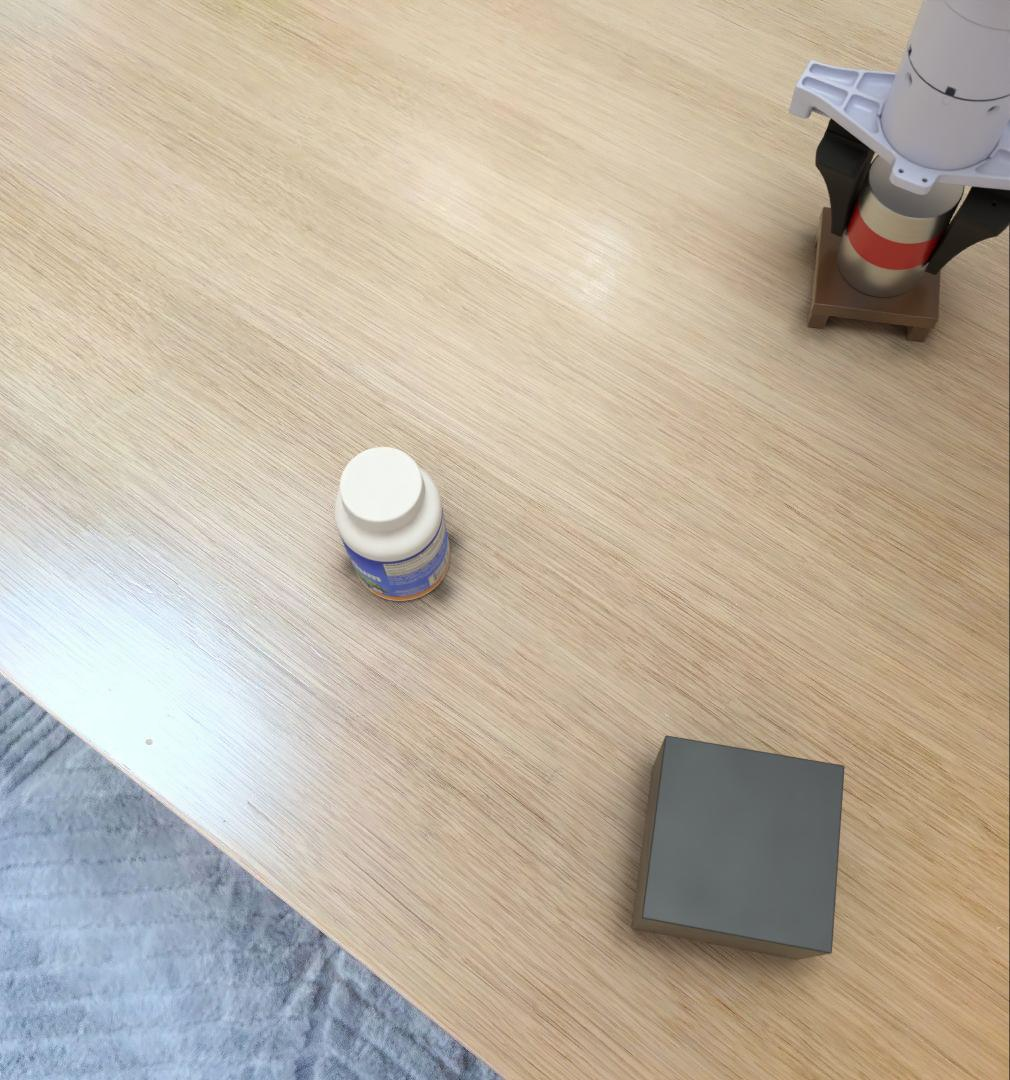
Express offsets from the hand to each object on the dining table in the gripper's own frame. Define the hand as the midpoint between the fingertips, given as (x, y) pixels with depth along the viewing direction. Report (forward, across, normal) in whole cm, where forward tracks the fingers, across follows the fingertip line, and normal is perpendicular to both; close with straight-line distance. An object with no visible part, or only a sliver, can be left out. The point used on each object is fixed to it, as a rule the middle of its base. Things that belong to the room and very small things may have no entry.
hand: (888, 240), depth 64 cm
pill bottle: (+5, -16, -28) cm, 33 cm away
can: (+2, 0, 0) cm, 2 cm away
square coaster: (+4, +7, -35) cm, 35 cm away
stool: (+4, 0, 0) cm, 4 cm away
